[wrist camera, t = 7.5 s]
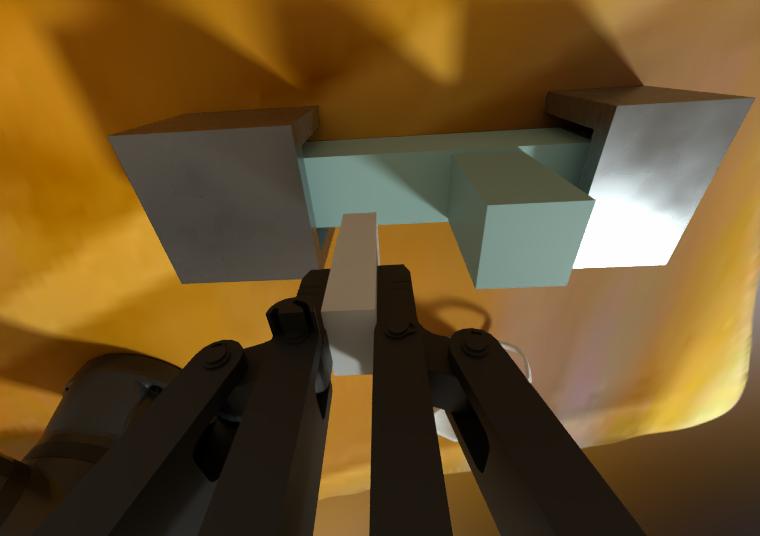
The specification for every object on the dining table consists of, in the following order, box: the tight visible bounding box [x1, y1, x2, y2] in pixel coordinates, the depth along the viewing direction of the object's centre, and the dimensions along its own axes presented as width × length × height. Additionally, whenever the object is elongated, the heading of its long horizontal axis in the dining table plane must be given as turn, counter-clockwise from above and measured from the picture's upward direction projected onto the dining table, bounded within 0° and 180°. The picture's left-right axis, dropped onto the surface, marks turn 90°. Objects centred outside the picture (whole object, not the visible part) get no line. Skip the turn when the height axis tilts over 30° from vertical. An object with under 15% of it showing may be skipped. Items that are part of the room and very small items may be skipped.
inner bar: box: [301, 127, 596, 289], centre depth 18 cm, size 21×4×12 cm, turn 93°
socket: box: [544, 86, 755, 268], centre depth 20 cm, size 6×9×7 cm
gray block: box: [107, 106, 335, 284], centre depth 20 cm, size 9×9×7 cm
